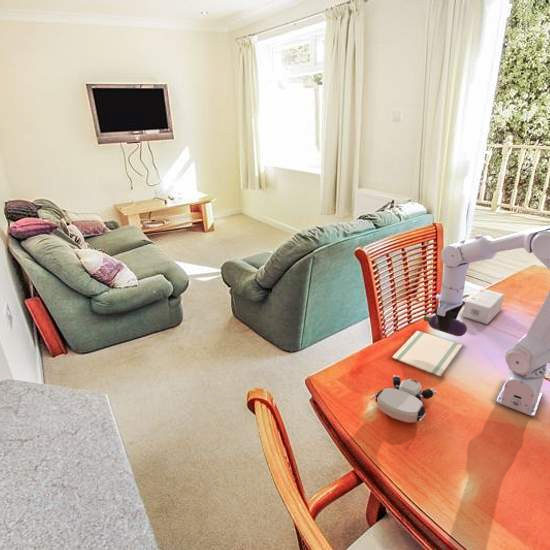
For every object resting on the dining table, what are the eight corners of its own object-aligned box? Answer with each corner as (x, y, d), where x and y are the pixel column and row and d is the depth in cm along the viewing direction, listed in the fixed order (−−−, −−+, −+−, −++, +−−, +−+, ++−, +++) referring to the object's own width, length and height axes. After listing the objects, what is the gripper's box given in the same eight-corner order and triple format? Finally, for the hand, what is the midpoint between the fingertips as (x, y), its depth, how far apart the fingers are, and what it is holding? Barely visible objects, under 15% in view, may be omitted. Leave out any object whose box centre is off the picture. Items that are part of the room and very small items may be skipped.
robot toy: (391, 382, 102) (367, 412, 92) (393, 368, 101) (368, 397, 90) (438, 400, 95) (417, 435, 84) (440, 386, 93) (419, 419, 83)
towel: (440, 376, 102) (440, 375, 102) (391, 358, 111) (392, 356, 111) (462, 346, 114) (462, 345, 114) (417, 331, 123) (417, 330, 123)
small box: (486, 325, 124) (501, 310, 131) (489, 308, 121) (504, 294, 129) (461, 316, 129) (477, 303, 137) (464, 300, 127) (480, 287, 134)
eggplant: (467, 334, 108) (470, 320, 106) (462, 341, 105) (464, 327, 103) (426, 321, 115) (428, 308, 113) (420, 327, 112) (422, 314, 110)
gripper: (447, 272, 111) (442, 312, 116) (428, 290, 101) (423, 333, 107) (473, 278, 106) (466, 319, 112) (455, 297, 97) (448, 341, 102)
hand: (446, 326), depth 109 cm, fingers closed on eggplant, 4 cm apart
